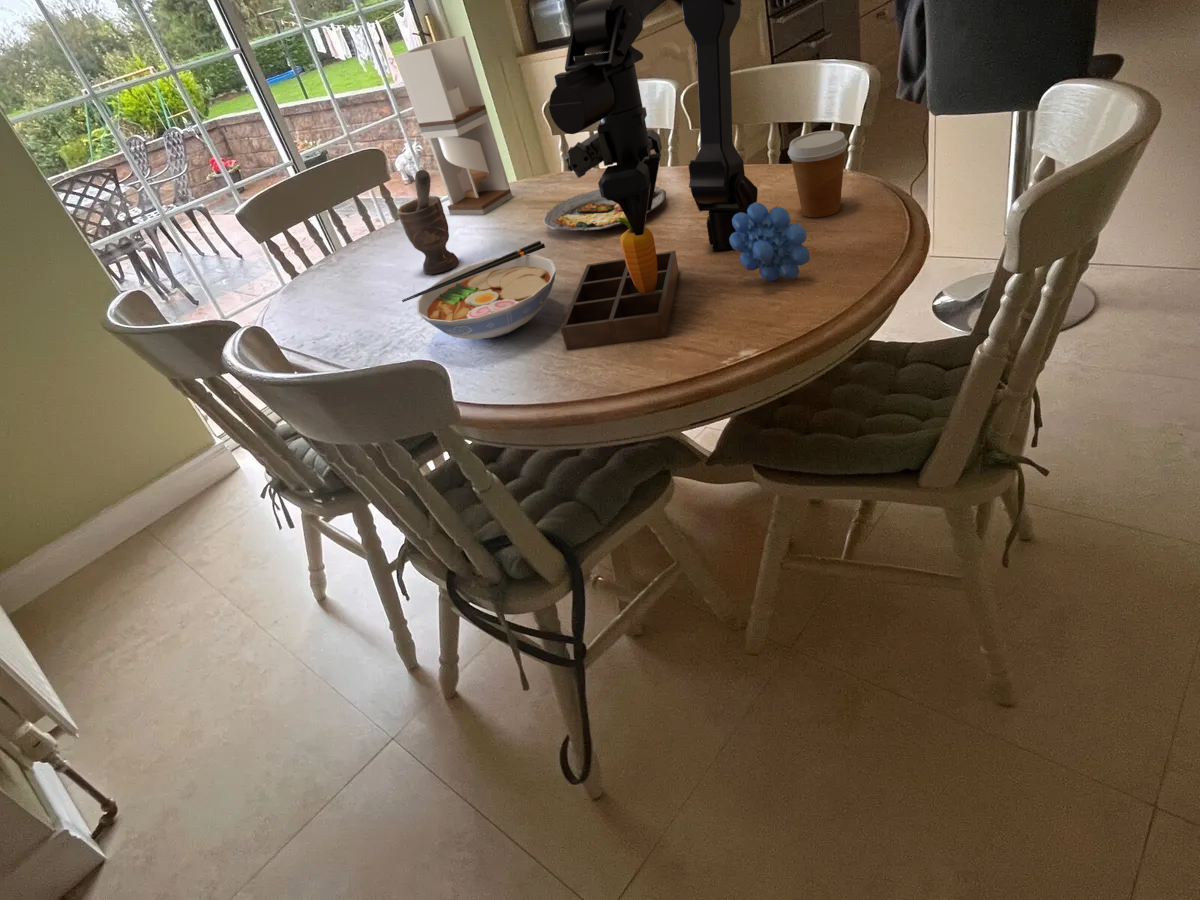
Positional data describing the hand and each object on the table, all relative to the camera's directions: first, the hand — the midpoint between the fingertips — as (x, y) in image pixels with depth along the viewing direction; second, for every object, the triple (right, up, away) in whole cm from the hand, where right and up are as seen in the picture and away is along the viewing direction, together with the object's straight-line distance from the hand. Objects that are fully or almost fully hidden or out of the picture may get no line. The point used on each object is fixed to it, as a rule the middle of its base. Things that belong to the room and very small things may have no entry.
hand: (643, 222), depth 107 cm
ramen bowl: (-22, -13, +14) cm, 29 cm away
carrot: (+1, -10, +7) cm, 12 cm away
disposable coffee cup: (+32, +9, +22) cm, 40 cm away
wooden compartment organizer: (-2, -11, +9) cm, 14 cm away
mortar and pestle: (-37, +4, +43) cm, 57 cm away
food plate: (-5, +15, +45) cm, 48 cm away
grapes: (+19, -8, +4) cm, 21 cm away
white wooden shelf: (-35, +26, +72) cm, 84 cm away
